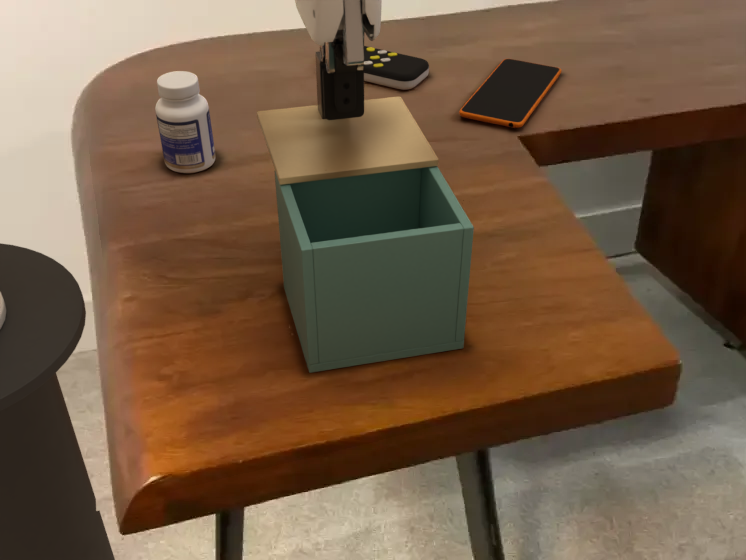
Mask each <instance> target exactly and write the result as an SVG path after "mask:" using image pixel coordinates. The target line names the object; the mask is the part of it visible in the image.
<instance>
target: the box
mask: <svg viewBox="0 0 746 560" xmlns="http://www.w3.org/2000/svg"><path fill="white" fill-rule="evenodd" d="M274 182H275V195H276V196H275V197H276V205H277V208H276V209H277V218H278V219H277V220H278V231H279V233H278V234H279V244H280V253H281V254H280V255H281V256H280V258H281V267H282V280H283V289H284V292H285V295H286V299H287V302H288V305H289V310H290V313H291V316H292V319H293V322H294V326H295V329H296V333H297V335H298V340H299V343H300V347H301V350H302V354H303V357H304V360H305V364H306V367H307V370H308V372H309V373H317V372H324V371H329V370H336V369H342V368H343V369H344V368H348V367H355V366H362V365H367V364H374V363H380V362H381V363H382V362H386V361H391V360H392V361H393V360H398V359H407V358H410V357H411V358H412V357H418V356H424V355H431V354H436V353H441V352H442V353H443V352H447V351H448V352H450V351H456V350H461V349H464V347H465V333H466V323H467V322H466V321H467V310H468V301H469V289H470V276H471V265H472V254H473V241H474V230H475V228H474V224H473V223H472V221H471V220H470V218H469V217H468V215H467V213H466V211H465V210H464V209H463V206H462V205H461V203H460V202H459V199H458V198H457V196H456V195H455V193H454V192H453V190H452V188H451V187H450V185H449V183H448V182H447V180H446V177H444V175H443V173H442V171H441V170H440V168H439V167H438V166H433V167H425V168H416V169H408V170H400V171H391V172H383V173H375V174H367V175H358V176H350V177H342V178H333V179H325V180H317V181H308V182H300V183H292V184H284V185H280V184H279V181H278V178H277V175H276V172H275V170H274Z"/></svg>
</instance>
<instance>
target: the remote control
mask: <svg viewBox="0 0 746 560" xmlns="http://www.w3.org/2000/svg"><path fill="white" fill-rule="evenodd" d="M429 72H430V63H429V62H428V61H427V60H426V59H424V58H421V57H417V56H412V55H408V54H403V53H399V52H394V51H389V50H385V49H380V48H376V47H372V46H367V45H364V82H367V83H372V84H375V85H376V84H377V85H379V86H385V87H389V88H393V89H396V90H402V91H406V90H412V89H414V88H415V87H416V86H418V85H419V84H420V83H421V82H423V80H425V79H426V78H427V77H428V76H429V74H430V73H429Z"/></svg>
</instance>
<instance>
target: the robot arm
mask: <svg viewBox="0 0 746 560" xmlns="http://www.w3.org/2000/svg"><path fill="white" fill-rule="evenodd" d="M294 3H295V8H296V9H297V12H298V14H299V17H300V19H301V22H302V24H303V26H304V27H305V30H306V31H307V34H308V35H309V37H310V39H311V40H312V41H313V42H314V44H316V45H317V46H319V52H320V57H321V61H322V62H323V61H326V63H319V64H320V88H321V108H322V111H323V113H324V115H325V118H326V119H327V120H336V119H346V118H355V117H361V116H363V115H364V100H365V81H364V46H365V36H366V37H367V38H368V40H369V41H371V42H373V41H375V40H376V39H377V38H378V37H379V36H380V33H381V26H382V23H381V22H382V4H383V3H382V0H294ZM5 317H6V306H5V302H4V299H3V297H2V294H1V292H0V329H1V327H2V325H3V323H4V321H5Z"/></svg>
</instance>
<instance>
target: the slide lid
mask: <svg viewBox="0 0 746 560" xmlns="http://www.w3.org/2000/svg"><path fill="white" fill-rule="evenodd" d="M314 54H315V55H314V57H315V77H316V80H315V81H316V99H317V100H316V102H317V104H314V105H305V106H296V107H295V106H294V107H288V108H287V107H286V108H275V109H268V110H258V111H256V118H257V121H258V125H259V127H260V130H261V133H262V136H263V139H264V142H265V144H266V148H267V152H268V154H269V156H270V159H271V163H272V166H273V169H274V171H275V172H276V175H277V178H278V181H279V184H280V185H284V184H292V183H300V182H308V181H317V180H325V179H333V178H342V177H350V176H358V175H367V174H375V173H383V172H391V171H400V170H408V169H416V168H425V167H433V166H437V167H438V166H439V163H440V162H439V161H440V160H439V157H438V156H437V154H436V153H435V151H434V149H433V147H432V146H431V145H430V142H429V141H428V139H427V138H426V136H425V135H424V133H423V131H422V129H421V128H420V126H419V124H418V123H417V121H416V119H415V118H414V116H413V114H412V113H411V111H410V110H409V107H408V106H407V105H406V103H405V101H404V100H403V98H402V97H401V96H400V95H399V96H389V97H382V98H372V99H371V98H370V99H364V115H363V116H361V117H355V118H346V119H336V120H327V119H326V118H325V115H324V113H323V111H322V108H321V88H320V64H319V63H326V61H323V62H322V61H321V57H320V51H315V52H314ZM275 172H274V173H275Z"/></svg>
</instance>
